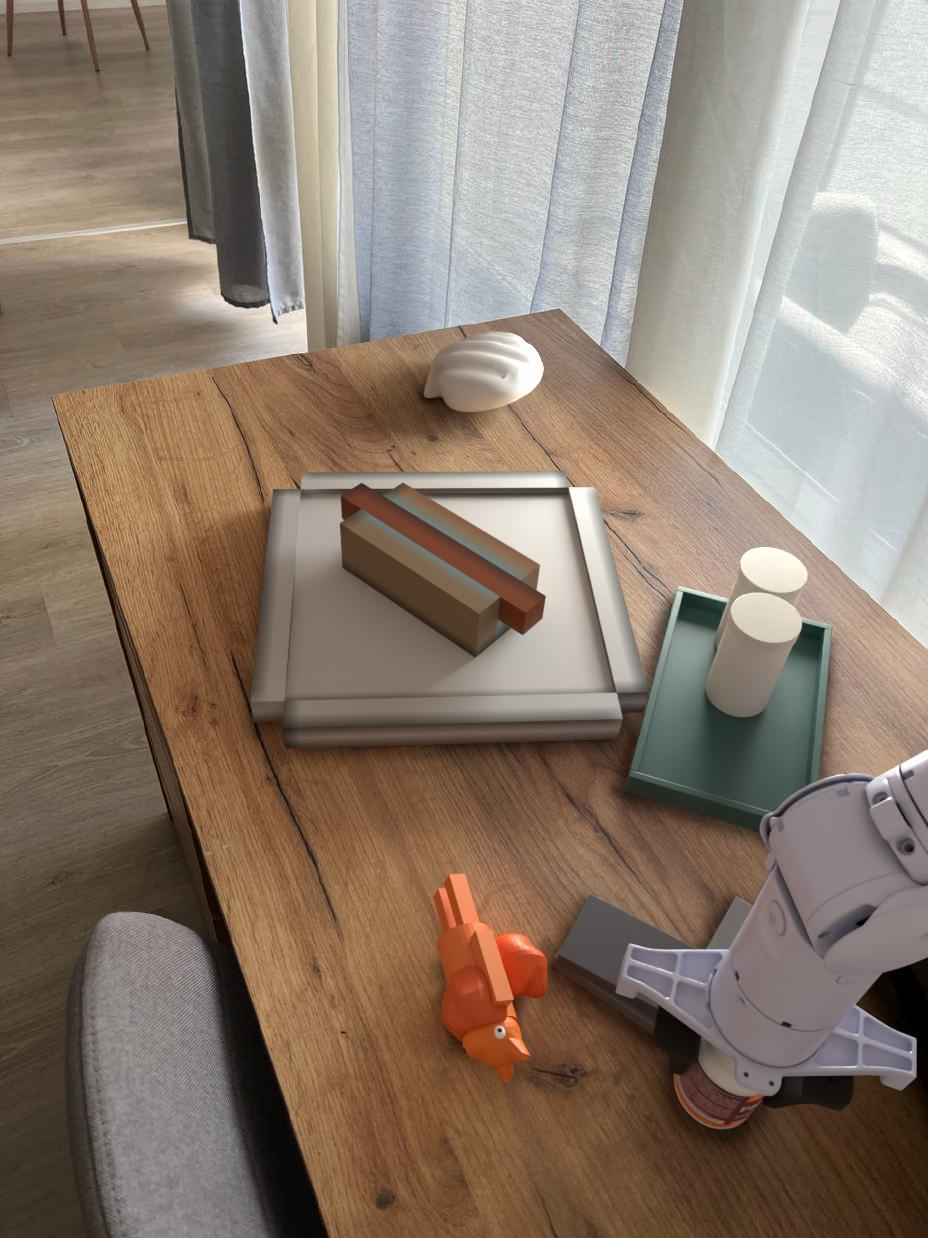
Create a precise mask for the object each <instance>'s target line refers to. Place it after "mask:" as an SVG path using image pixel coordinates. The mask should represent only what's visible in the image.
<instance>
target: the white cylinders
mask: <svg viewBox="0 0 928 1238" xmlns="http://www.w3.org/2000/svg"><path fill="white" fill-rule="evenodd" d="M808 575H809V574H808V571H807V569H806V567H805V565H804V564H803V562H801V560H799V559H798V558H797V557H796V556H794V555H793V554H791V553H789V552H787V551H786V550H785V551H784V550H782V549H778V548H775V547H756V548H752V549H749V550H748V551H747V552H745V553H744V554H743V555H742V556H741V558H740V561H739V563H738V567H737V570H736V576H735V579H734V582H733V585H732V586H731V587H732V588H731V589H730V593H729V596H728V598H727V599H728V602H727V605H726V607H725V610H724V613H723V616H722V619H721V622H720V625H719V627H718V630H717V633H716V636H715V645H716V648H717V653H716V655H715V658H714V661H713V664H712V667H711V670H710V672H709V675H708V678H707V681H706V684H705V691H706V694H707V697H708V699H709V700H710V702H711V703H712V704H713V705H714V706H715V707H716V708H717V709H719V710H720V711H722V712H724V713H726V714H728V715H731V716H735V717H751V716H755V715H757V714H759V713H760V712H762V711H763V710H764V709H765V707H766V705H767V703H768V701H769V699H770V696H771V694H772V692H773V689H774V687H775V685H776V683H777V680H778V678H779V676H780V674H781V671H782V669H783V667H784V664H785V662H786V660H787V658H788V655H789V653H790V651H791V648H792V646H793V645H794V644H795V642H796V641H797V638H798V636H799V634H800V631H801V629H802V621H801V618H802V617H801V616H800V613H799V612H798V610H797V609H796V608H795V607H796V605H797V603H798V600H799V599H800V596H801V595H802V594H803V592H804V590H805V587H806V585H807V583H808ZM800 617H801V618H800Z"/></svg>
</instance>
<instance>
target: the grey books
mask: <svg viewBox="0 0 928 1238" xmlns="http://www.w3.org/2000/svg"><path fill="white" fill-rule="evenodd" d="M752 907H753V905H752V904H751V903H749V902H747V901H746V900H744V899H742V898H740V897H739V896H737V895H736V896H735V897H734V899H733V900H732V902H731V904H730V906H729V907H728V909H727V911H726V913H725V915H724V916H723V918H722V919H721V921H720V922H719V924H718V926H717V928H716V930H715V932H714V934H713V936H712V937H711V939H710V940H709V943H708V945H707V946H706V948H705V950H729V948H730V947H731V945H732V943H733V941H734V939H735V938H736V936H737V934H738V932H739V930H740V929H741V927H742V925H743V923H744V921H745V920H746V918H747V916H748V914H749V912H750V911H751V909H752ZM629 944H634V945H637V946H641V947H645V948H650V949H660V950H679V949H685V950H699V949H698V948H696V947H694V946H692V945H690V944H688V943H686V942H685V941H683V940H681V939H680V938H677V937H675V936H673V935H671V934H670V933H667V932H666V931H664V930H662V929H659V928H658V927H656V926H654V925H651V924H650V923H648V922H646V921H645V920H643V919H640V918H638V917H636V915H633V914H631V913H629V912H628V911H625V910H623V909H621V908H619V907H617V906H616V905H614V904H612V903H610V902H608V901H606V900H604V899H602V898H600V897H599V896H596V895H594V894H592V893H589V894H588V896H587V898H586V900H585V901H584V903H583V906H582V908H581V909H580V911H579V913H578V915H577V916H576V919H575V920H574V923H573V925H572V927H571V929H570V931H569V933H568V935H567V937H566V939H565V940H564V942H563V944H562V945H561V946H560V948H559V949H558V951H557V953H556V954H555V956H554V957H553V959H552V960H553V961H552V964H551V966H552V968H554V969H556V970H557V971H559V972H560V973H561V974H563V975H564V976H566V977H568V978H569V979H570V980H572V981H573V982H574V983H576V984H578V985H579V986H580V987H581V988H583V989H585V990H586V991H588V992H589V993H590V994H592V995H593V996H594V997H597V998H598V999H599V1000H601V1001H602V1002H604V1003H605V1004H607V1005H608V1006H610V1007H611V1008H612V1009H614V1010H616V1011H617V1012H618V1013H619V1014H621V1015H623V1017H626V1018H627V1019H629V1020H630V1021H631V1022H633V1023H634V1024H635V1025H637V1026H639V1027H640V1028H641V1029H643V1030H645V1031H646V1032H648V1033H649V1034H650V1035H652V1037H654V1035H653V1031H654V1025H655V1019H656V1014H657V1009H658V1004H657V1003H656V1002H654V1001H653V1000H651V999H650V998H648V997H647V996H645V995H644V994H642V993H640V992H638V994H637V996H636V997H635V998H629V997H626V996H623V995H620V994H617V993H616V988H617V983H618V979H619V974H620V970H621V966H622V961H623V958H624V956H625V953H626V950H627V948H628V945H629Z"/></svg>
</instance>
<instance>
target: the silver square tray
mask: <svg viewBox="0 0 928 1238" xmlns="http://www.w3.org/2000/svg"><path fill="white" fill-rule="evenodd" d="M566 473H567V472H566V471H565V470H545V471H544V470H528V471H527V470H524V471H523V470H518V471H510V470H509V471H506V470H505V471H502V470H501V471H500V470H499V471H494V470H493V471H319V472H318V471H312V472H311V471H309V472H307V471H305V472H304V471H303V472H301V479H300V488H273V489H272V495H271V503H270V504H271V506H270V515H269V523H268V531H267V532H268V534H267V542H266V543H267V544H266V551H265V562H264V570H263V578H262V579H263V580H262V587H261V588H262V589H261V599H260V605H259V606H260V607H259V615H258V624H257V625H258V627H257V634H256V635H257V636H256V644H255V653H254V664H253V672H252V681H251V690H250V698H249V699H250V700H249V703H250V709H251V714H252V720H253V723H282V726H281V727H282V734H283V735H282V736H283V742H284V748H285V749H313V748H315V749H318V748H349V747H350V748H352V747H385V746H386V747H387V746H421V745H422V746H423V745H453V744H455V745H456V744H458V745H459V744H460V745H461V744H491V743H492V744H493V743H495V744H496V743H529V742H532V743H533V742H561V741H562V742H563V741H565V742H566V741H567V742H568V741H600V740H602V741H603V740H618V738H619V735H620V731H621V726H622V724H623V720H624V719H623V718H624V717H623V714H628V713H629V714H633V713H644V712H645V708H646V704H647V700H648V697H649V693H650V689H649V687H648V683H647V679H646V676H645V671H644V668H643V664H642V661H641V657H640V653H639V649H638V645H637V641H636V637H635V634H634V630H633V626H632V622H631V619H630V615H629V611H628V607H627V604H626V600H625V599H626V598H625V596H624V592H623V587H622V585H621V581H620V575H619V573H618V569H617V565H616V561H615V558H614V555H613V550H612V546H611V542H610V537H609V535H608V531H607V527H606V523H605V520H604V516H603V513H602V508H601V506H600V501H599V497H598V493H597V489H596V487H595V486H594V487H593V486H591V487H590V486H587V487H585V486H583V487H581V486H580V487H578V486H577V487H572V486H569V482H568V478H567V474H566Z"/></svg>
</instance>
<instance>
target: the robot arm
mask: <svg viewBox="0 0 928 1238" xmlns="http://www.w3.org/2000/svg"><path fill="white" fill-rule="evenodd" d="M759 834H760V836H761V839H762V841H763V844H764V845H765V847H766V849H767V850H768V851H769V853H768V856H767V858H766V859H765V861H764V865H765V867H766V870H767V871H768V872H769V876H768V878H767V880H766V882H765V883H764V885H763V887H762V889H761V891H760V892H759V894H758V896H757V898H756V900H755V902H754V904H753V905H752V906H753V907H752V909H751V911H750V912H749V914H748V916H747V918H746V920H745V921H744V923H743V925H742V927H741V929H740V930H739V932H738V934H737V936H736V938H735V939H734V941H733V943H732V945H731V947H730V948H729V950H706V949H698V950H685V949H679V950H660V949H650V948H645V947H641V946H637V945H634V944H629V945H628V948H627V950H626V953H625V956H624V958H623V961H622V966H621V970H620V974H619V979H618V983H617V988H616V993H617V994H620V995H623V996H626V997H629V998H635V997H636V996H637V994H638V992H640V993H642V994H644V995H645V996H647V997H648V998H650V999H651V1000H653V1001H654V1002H656V1003H657V1004H658V1009H657V1014H656V1019H655V1025H654V1031H653V1035H654V1036H653V1035H652V1036H653V1043H654V1047H655V1048H656V1049H659V1050H661V1051H663V1052H665V1054H666V1056H667V1059H668V1067H667V1070H668V1072H669V1073H673V1075H674V1074H677V1075H682V1074H683V1072H684V1070H685V1068H686V1065H687V1064H688V1063H689V1062H690V1061H694V1062H697V1063H698V1057H699V1051H700V1044H701V1038H702V1037H703V1038H704V1039H706V1040H707V1041H709V1042H710V1043H711V1044H713V1045H714V1046H715V1047H717V1048H718V1049H719V1050H721V1051H722V1052H723V1053H725V1054H726V1055H727V1056H729V1057H730V1058H731V1059H732V1060H733V1062H734V1064H735V1070H734V1078H735V1080H736V1082H737V1084H738V1085H740V1086H741V1087H743V1088H746V1089H748V1090H751V1091H754V1092H757V1093H760V1094H763V1095H765V1097H764V1098H763V1100H762V1102H761V1103H762V1106H765V1107H768V1108H771V1109H775V1110H776V1109H780V1108H781V1109H782V1108H785V1107H791V1106H797V1105H798V1106H799V1105H815V1106H819V1107H822V1108H824V1109H828V1110H830V1111H835V1112H842V1111H843V1110H844V1109H846V1107H848V1106H849V1104H851V1102H852V1100H853V1097H854V1087H855V1076H878V1077H879V1082H881V1084H882V1085H884V1086H886V1087H889V1088H891V1089H894V1090H897V1091H900V1092H901V1091H903V1090H904V1089H905V1088H906V1087H908V1086H909V1084H911V1083H912V1082H913V1081H914V1080H915V1079H916V1078H917V1038H916V1037H913V1036H911V1035H909V1034H906V1033H903V1032H901V1031H898V1030H896V1029H894V1028H893V1027H891V1026H888V1025H886V1024H885V1023H884V1022H882V1021H880V1020H879V1019H877V1018H876V1017H874V1016H873V1015H871V1014H869V1013H868V1012H867V1011H865V1010H864V1009H862V1008H861V1007H860V1006H858V1005H857V1004H858V1002H859V1001H860V1000H861V999H862V998H863V996H864V995H865V994H866V993H867V992H868V990H869V989H870V988H871V987H872V986H873V985H874V983H875V982H876V981H877V980H878V979H879V977H880V976H881V975H882V974H883V973H886V972H890V971H894V970H898V969H902V968H904V967H907V966H910V965H913V964H915V963H917V962H920V961H922V960H925V959H927V958H928V748H927V749H926V750H924V751H922V752H920V753H918V754H917V755H914V756H913V757H910V758H909V759H907V760H905V761H903V762H902V763H901V764H898V765H896V766H894V767H892V768H891V769H889V770H887V771H885V772H883V773H881V774H879V775H878V776H876V777H875V776H873V775H871V774H867V773H856V772H854V773H852V772H851V773H847V774H844V773H843V774H837V775H833V776H829V777H826V778H822V779H819V781H817V782H814V783H812V784H810V785H808V786H806V787H804V788H802V789H800V790H798V791H797V792H795V793H794V794H792V795H791V796H790V797H788V798H787V799H786V800H785V801H784V802H783V803H782V804H781V805H780V806H779V807H778V809H777V810H776V811H774V812H772V813H769V814H767V815H765V816H764V817H763V818H762V820H761V823H760V832H759Z"/></svg>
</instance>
